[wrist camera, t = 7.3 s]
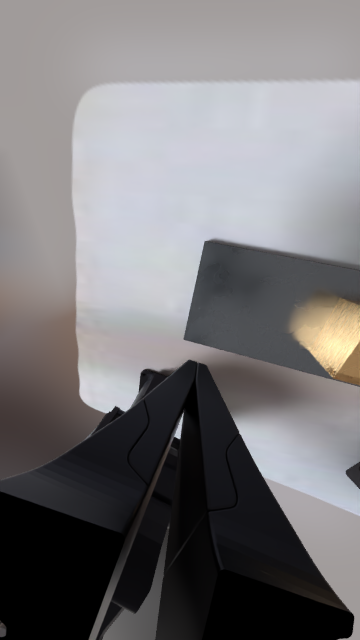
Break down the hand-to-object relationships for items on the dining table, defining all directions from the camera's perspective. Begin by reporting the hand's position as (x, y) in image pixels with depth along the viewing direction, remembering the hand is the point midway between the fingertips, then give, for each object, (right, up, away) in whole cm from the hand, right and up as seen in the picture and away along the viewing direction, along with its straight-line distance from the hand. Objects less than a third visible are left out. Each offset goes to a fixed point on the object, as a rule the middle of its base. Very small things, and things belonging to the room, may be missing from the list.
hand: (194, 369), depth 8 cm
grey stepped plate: (+13, +2, +9) cm, 16 cm away
